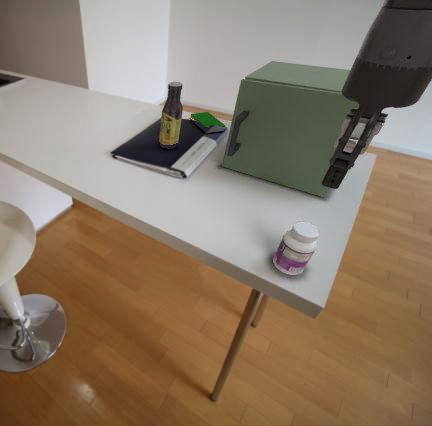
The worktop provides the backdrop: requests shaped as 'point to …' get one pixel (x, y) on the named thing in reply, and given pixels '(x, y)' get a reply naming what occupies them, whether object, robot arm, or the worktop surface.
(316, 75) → the cupboard
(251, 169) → the cupboard door
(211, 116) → the dish sponge
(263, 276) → the worktop surface
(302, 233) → the pill bottle
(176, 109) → the sauce bottle
